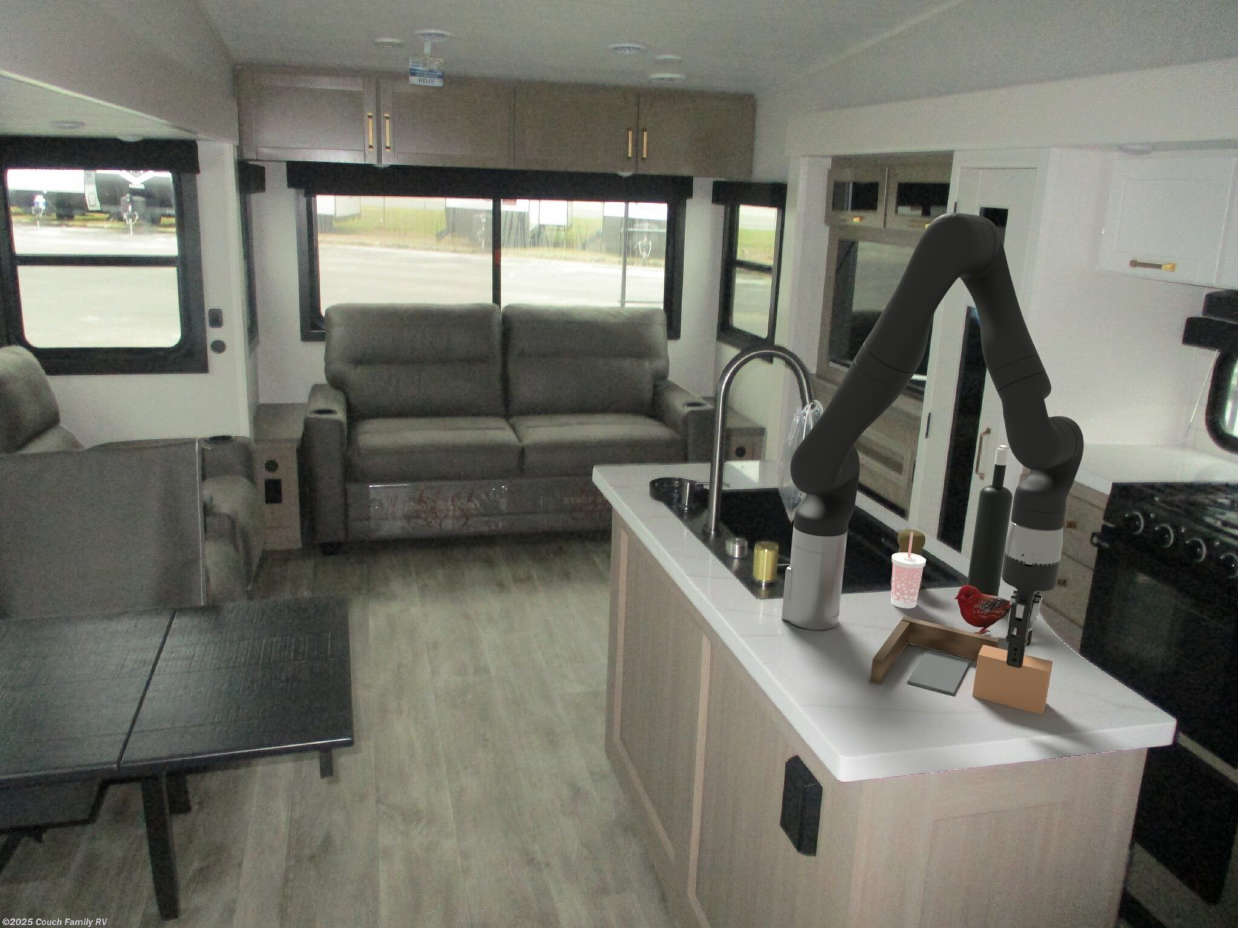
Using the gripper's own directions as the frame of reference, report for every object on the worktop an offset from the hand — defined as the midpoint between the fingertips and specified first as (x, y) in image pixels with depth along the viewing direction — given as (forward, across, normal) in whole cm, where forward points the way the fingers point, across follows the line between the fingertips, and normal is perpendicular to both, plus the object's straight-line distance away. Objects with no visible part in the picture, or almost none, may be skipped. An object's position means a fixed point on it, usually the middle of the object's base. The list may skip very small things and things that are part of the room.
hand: (1018, 654), depth 147 cm
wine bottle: (+7, -39, -11) cm, 41 cm away
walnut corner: (+7, -3, -12) cm, 14 cm away
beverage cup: (+7, -28, -23) cm, 37 cm away
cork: (+7, -38, -25) cm, 46 cm away
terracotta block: (+8, 0, 0) cm, 8 cm away
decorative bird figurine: (+8, -23, -7) cm, 25 cm away
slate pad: (+7, -3, -12) cm, 14 cm away
